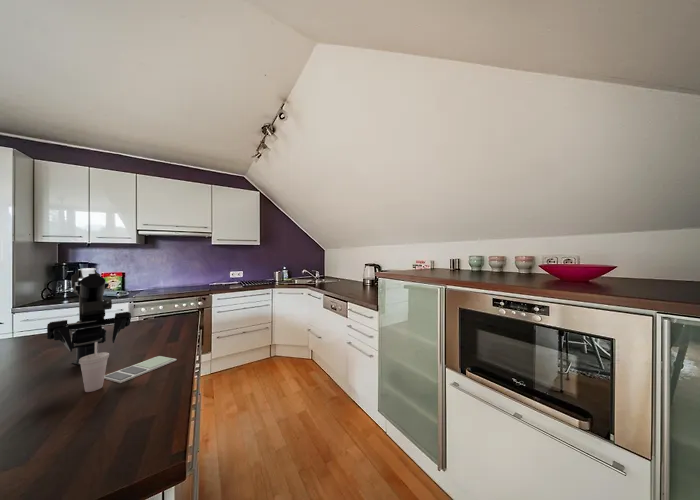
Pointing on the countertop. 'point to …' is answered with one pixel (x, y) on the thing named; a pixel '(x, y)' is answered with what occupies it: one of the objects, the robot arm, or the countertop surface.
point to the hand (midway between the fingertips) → (93, 346)
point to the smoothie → (93, 370)
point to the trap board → (138, 369)
